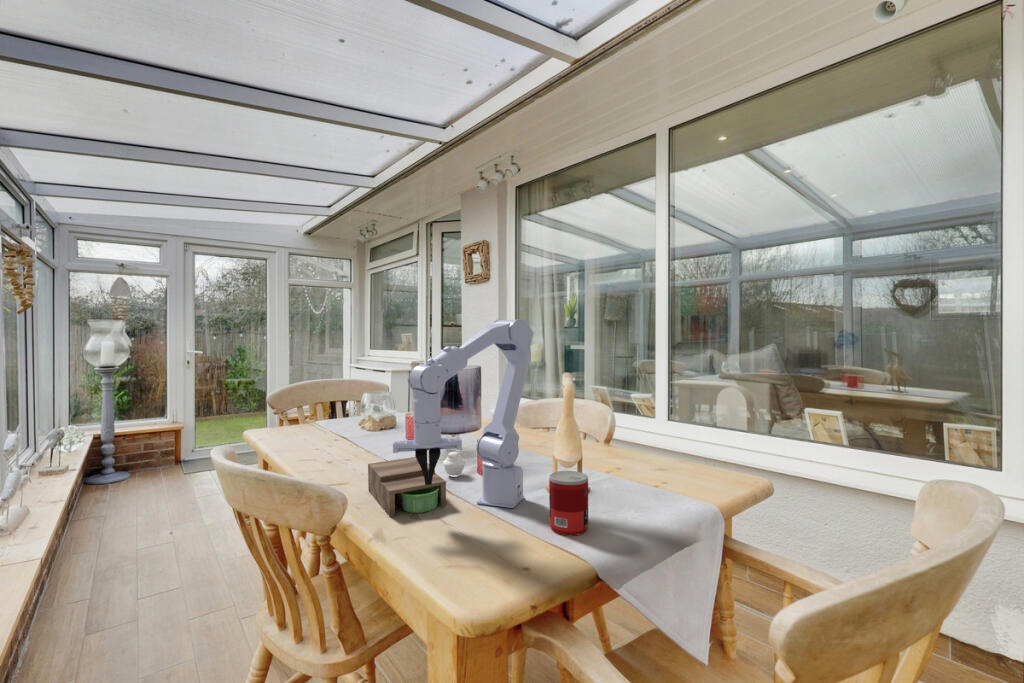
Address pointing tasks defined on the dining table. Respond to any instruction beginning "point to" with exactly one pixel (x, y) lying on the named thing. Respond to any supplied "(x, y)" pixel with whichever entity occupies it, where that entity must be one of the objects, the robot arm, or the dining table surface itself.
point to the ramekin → (420, 500)
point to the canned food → (568, 502)
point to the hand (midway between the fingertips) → (428, 483)
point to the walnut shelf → (400, 482)
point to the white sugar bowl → (454, 464)
